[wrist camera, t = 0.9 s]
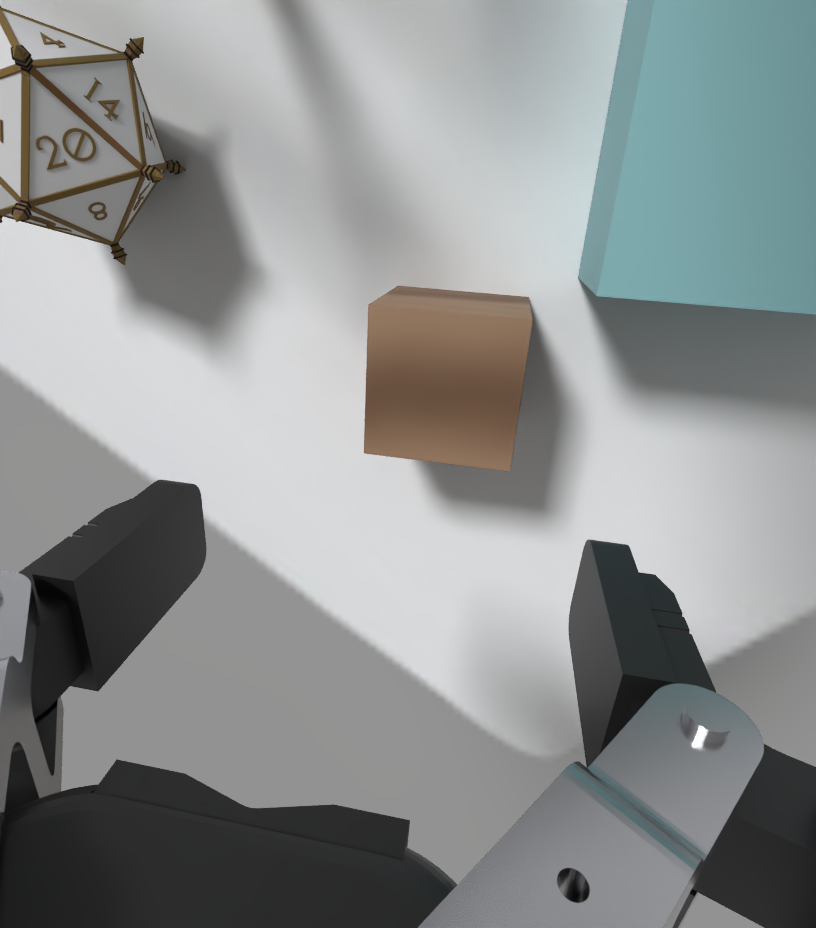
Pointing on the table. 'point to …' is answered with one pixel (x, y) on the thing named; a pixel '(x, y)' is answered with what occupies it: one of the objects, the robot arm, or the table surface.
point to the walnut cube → (445, 375)
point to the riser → (709, 158)
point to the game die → (73, 133)
